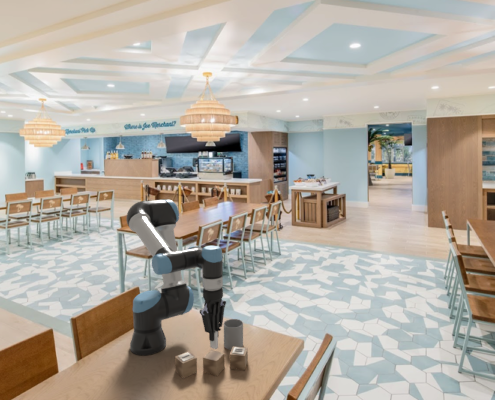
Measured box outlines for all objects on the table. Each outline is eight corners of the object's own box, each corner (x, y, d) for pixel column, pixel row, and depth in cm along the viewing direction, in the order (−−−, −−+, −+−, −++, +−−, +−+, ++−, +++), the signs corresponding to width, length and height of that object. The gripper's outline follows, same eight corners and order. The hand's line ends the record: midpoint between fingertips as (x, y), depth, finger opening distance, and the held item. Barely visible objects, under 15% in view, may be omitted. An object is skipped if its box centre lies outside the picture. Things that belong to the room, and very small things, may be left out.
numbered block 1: (175, 371, 132) (174, 355, 131) (189, 365, 136) (188, 350, 135) (183, 378, 127) (182, 362, 127) (197, 372, 131) (196, 356, 130)
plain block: (203, 372, 131) (202, 357, 130) (211, 364, 136) (211, 349, 136) (216, 376, 129) (216, 361, 128) (224, 367, 134) (224, 353, 133)
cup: (240, 351, 146) (240, 328, 145) (221, 349, 148) (221, 326, 146) (244, 341, 154) (244, 319, 153) (226, 339, 156) (226, 318, 155)
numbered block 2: (229, 369, 133) (229, 353, 133) (233, 360, 139) (232, 345, 138) (244, 370, 132) (244, 355, 131) (247, 361, 138) (247, 346, 137)
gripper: (208, 294, 122) (210, 358, 124) (231, 284, 132) (232, 343, 134) (193, 290, 126) (195, 352, 128) (216, 281, 137) (217, 337, 139)
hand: (214, 347), depth 131 cm, fingers closed
